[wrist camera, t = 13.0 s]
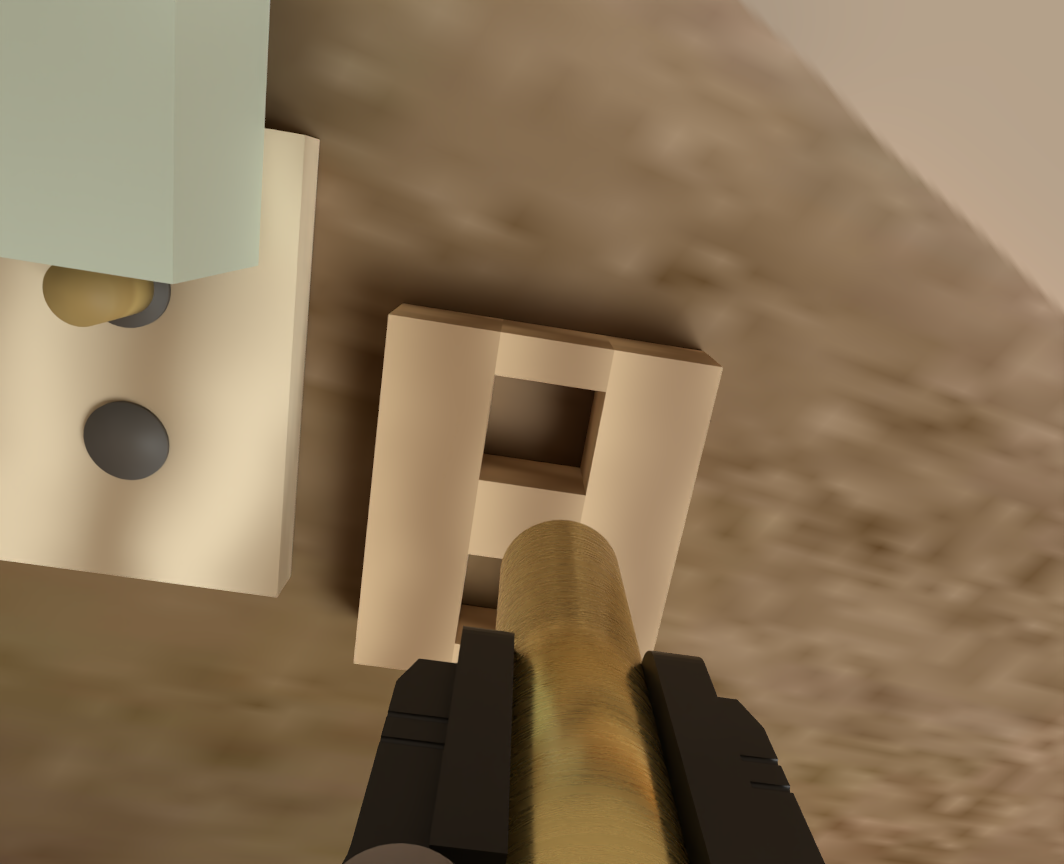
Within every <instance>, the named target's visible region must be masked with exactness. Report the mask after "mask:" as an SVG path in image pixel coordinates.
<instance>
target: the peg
mask: <svg viewBox="0 0 1064 864" xmlns="http://www.w3.org/2000/svg"><path fill="white" fill-rule="evenodd" d="M496 630H499V631H507V632H514V634H515V640H514V672H513V703H512V734H511V766H510V797H509V828H508V855H507V860H506V864H690V863H689V859H688V855H687V851H686V846H685V842H684V838H683V834H682V830H681V826H680V822H679V818H678V813H677V809H676V805H675V801H674V797H673V793H672V789H671V785H670V780H669V776H668V772H667V768H666V764H665V760H664V756H663V752H662V747H661V743H660V739H659V735H658V731H657V727H656V723H655V719H654V714H653V710H652V706H651V702H650V698H649V694H648V690H647V686H646V681H645V677H644V673H643V669H642V665H641V663H642V659H641V655H640V651H639V646H638V642H637V638H636V634H635V630H634V626H633V622H632V618H631V614H630V610H629V606H628V601H627V597H626V593H625V589H624V585H623V581H622V577H621V573H620V569H619V565H618V561H617V558H616V554H615V552H614V550H613V548H612V547H611V545H610V544H609V542H608V541H607V540H606V539H605V538H604V537H603V536H602V535H601V534H600V533H599V532H597V531H596V530H594V529H593V528H591V527H589V526H587V525H585V524H582V523H579V522H575V521H570V520H551V521H545V522H542V523H539V524H536V525H534V526H531V527H530V528H528V529H526V530H524V531H523V532H522V533H521V534H519V535H518V536H517V537H516V538H515V539H514V540H513V541H512V542H511V544H510V545H509V546H508V548H507V550H506V552H505V554H504V556H503V559H502V563H501V570H500V582H499V594H498V606H497V618H496Z"/></svg>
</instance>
